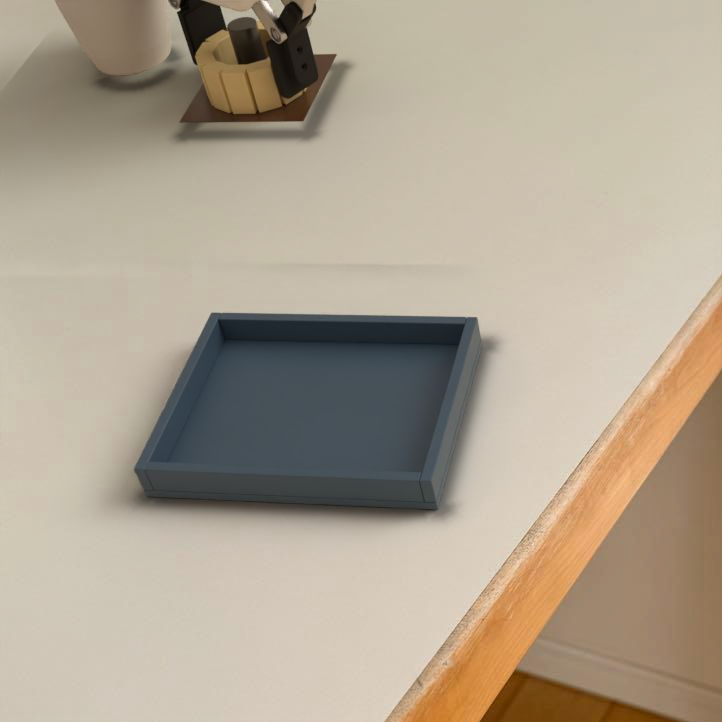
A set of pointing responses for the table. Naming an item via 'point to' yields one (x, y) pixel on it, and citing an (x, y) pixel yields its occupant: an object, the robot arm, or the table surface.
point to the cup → (120, 32)
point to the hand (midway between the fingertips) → (255, 71)
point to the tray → (315, 410)
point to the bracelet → (238, 77)
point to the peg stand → (249, 52)
